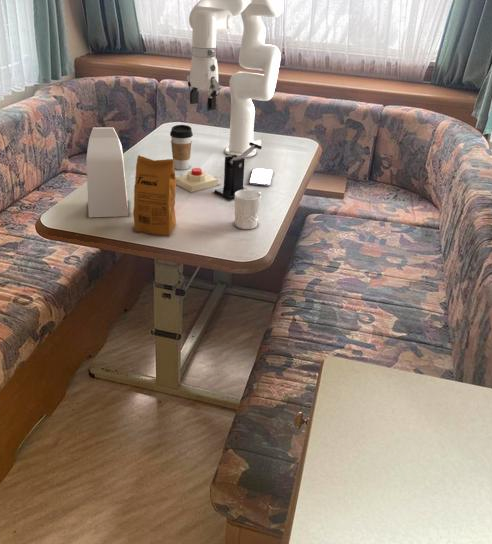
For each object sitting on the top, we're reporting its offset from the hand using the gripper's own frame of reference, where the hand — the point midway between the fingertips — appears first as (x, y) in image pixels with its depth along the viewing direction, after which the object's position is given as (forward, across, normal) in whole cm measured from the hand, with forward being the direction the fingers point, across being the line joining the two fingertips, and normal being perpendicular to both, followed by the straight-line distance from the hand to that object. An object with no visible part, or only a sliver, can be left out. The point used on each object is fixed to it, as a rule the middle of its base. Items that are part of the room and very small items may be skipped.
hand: (202, 106), depth 193 cm
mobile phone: (+27, -10, -20) cm, 35 cm away
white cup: (+27, -37, +10) cm, 46 cm away
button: (+23, -1, +3) cm, 23 cm away
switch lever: (+15, -15, -7) cm, 22 cm away
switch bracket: (+26, -15, -2) cm, 31 cm away
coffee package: (+27, -23, +34) cm, 49 cm away
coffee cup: (+27, +16, -2) cm, 31 cm away
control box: (+26, -1, +3) cm, 27 cm away
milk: (+27, -3, +39) cm, 47 cm away
